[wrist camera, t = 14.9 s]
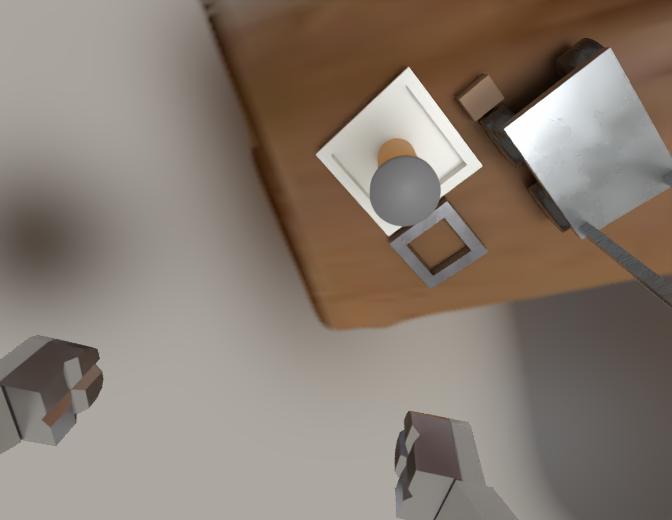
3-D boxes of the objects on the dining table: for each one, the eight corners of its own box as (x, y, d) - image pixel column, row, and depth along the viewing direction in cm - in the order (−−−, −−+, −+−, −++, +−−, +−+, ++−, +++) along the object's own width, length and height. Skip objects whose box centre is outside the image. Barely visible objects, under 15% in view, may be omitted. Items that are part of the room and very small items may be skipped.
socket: (389, 238, 41) (389, 243, 40) (444, 196, 38) (447, 201, 37) (429, 282, 43) (430, 289, 42) (484, 246, 40) (488, 252, 39)
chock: (454, 97, 34) (459, 99, 32) (481, 74, 33) (488, 74, 31) (469, 118, 35) (475, 121, 33) (496, 96, 34) (504, 98, 31)
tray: (318, 150, 37) (315, 154, 36) (407, 66, 33) (408, 66, 32) (388, 228, 40) (388, 236, 39) (477, 161, 36) (482, 166, 35)
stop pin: (362, 150, 36) (356, 183, 26) (405, 121, 35) (419, 143, 24) (387, 190, 38) (392, 238, 27) (430, 164, 36) (453, 204, 26)
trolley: (474, 117, 35) (561, 164, 18) (569, 40, 31) (787, 9, 14) (548, 219, 38) (678, 339, 21) (640, 161, 35) (881, 248, 18)
